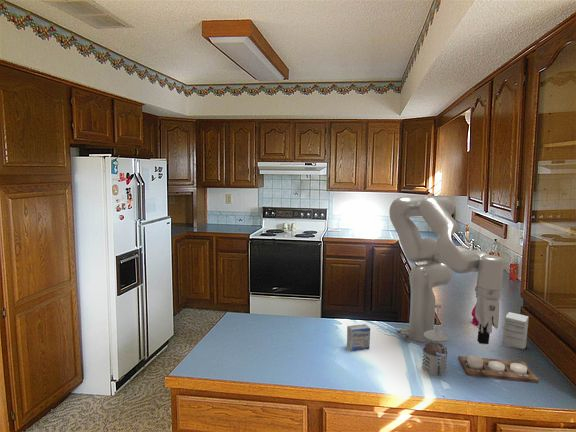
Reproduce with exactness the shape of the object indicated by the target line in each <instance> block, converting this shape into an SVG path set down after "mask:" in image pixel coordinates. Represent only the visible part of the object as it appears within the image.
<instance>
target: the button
mask: <svg viewBox="0 0 576 432" xmlns="http://www.w3.org/2000/svg"><path fill="white" fill-rule="evenodd" d="M487 366H488V367H489V369H490V370H492V371H502V372H505V365H504V364H503V363H501V362H498V361H489V364H488V365H487Z"/></svg>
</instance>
